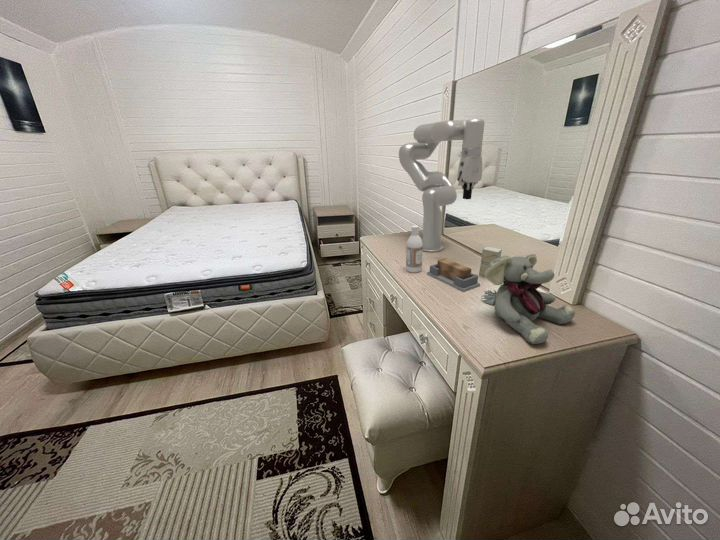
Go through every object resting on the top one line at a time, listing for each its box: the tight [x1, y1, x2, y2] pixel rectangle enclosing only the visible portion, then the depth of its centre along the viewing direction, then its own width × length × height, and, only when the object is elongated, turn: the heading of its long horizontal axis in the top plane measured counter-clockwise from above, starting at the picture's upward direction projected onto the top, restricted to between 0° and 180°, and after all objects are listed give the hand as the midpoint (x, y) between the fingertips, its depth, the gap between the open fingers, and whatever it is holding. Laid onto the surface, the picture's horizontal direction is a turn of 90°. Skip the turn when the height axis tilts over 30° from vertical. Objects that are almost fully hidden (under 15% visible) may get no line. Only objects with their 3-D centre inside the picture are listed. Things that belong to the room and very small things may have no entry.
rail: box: [426, 263, 481, 293], centre depth 119 cm, size 20×9×4 cm, turn 30°
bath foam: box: [405, 225, 424, 273], centre depth 127 cm, size 7×7×20 cm
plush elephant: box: [480, 253, 576, 345], centre depth 90 cm, size 27×22×21 cm
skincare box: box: [478, 246, 503, 279], centre depth 119 cm, size 6×4×12 cm
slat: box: [436, 257, 472, 281], centre depth 118 cm, size 14×4×6 cm, turn 30°
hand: (466, 198), depth 126 cm, fingers closed
